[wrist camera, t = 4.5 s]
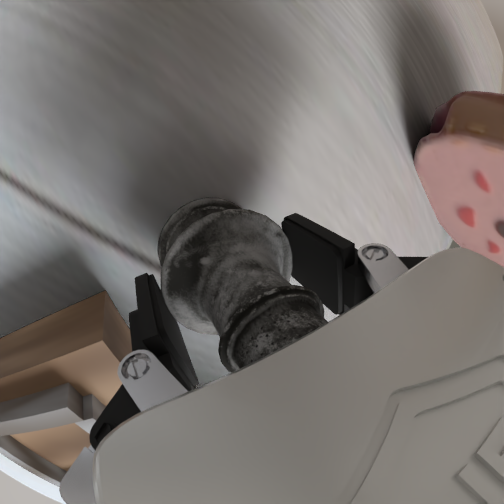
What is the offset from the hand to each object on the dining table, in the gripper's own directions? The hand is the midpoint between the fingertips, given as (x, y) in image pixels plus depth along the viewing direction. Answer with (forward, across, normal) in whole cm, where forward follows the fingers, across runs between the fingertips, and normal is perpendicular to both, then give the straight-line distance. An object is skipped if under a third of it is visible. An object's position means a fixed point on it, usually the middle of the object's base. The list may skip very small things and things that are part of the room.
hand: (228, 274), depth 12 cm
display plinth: (+3, +14, +7) cm, 16 cm away
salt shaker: (+3, 0, 0) cm, 3 cm away
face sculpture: (+3, -23, +2) cm, 23 cm away
